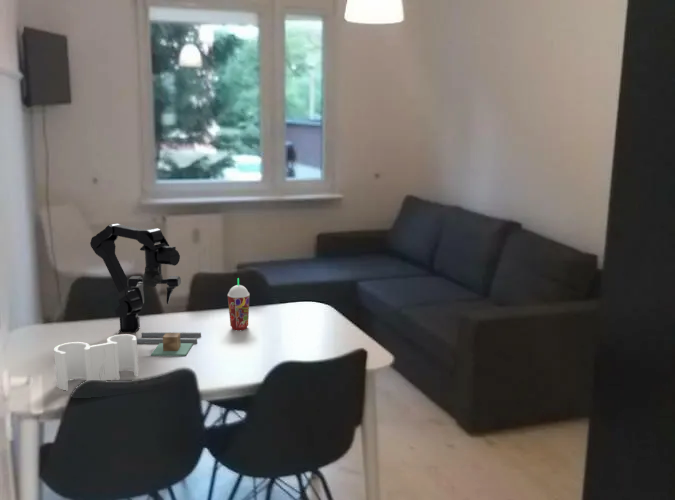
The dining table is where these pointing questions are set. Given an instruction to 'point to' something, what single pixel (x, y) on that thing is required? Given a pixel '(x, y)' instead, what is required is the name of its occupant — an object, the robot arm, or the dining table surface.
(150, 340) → the channel
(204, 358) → the dining table surface
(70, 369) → the bracket
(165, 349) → the tan block
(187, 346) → the mat
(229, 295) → the smoothie
